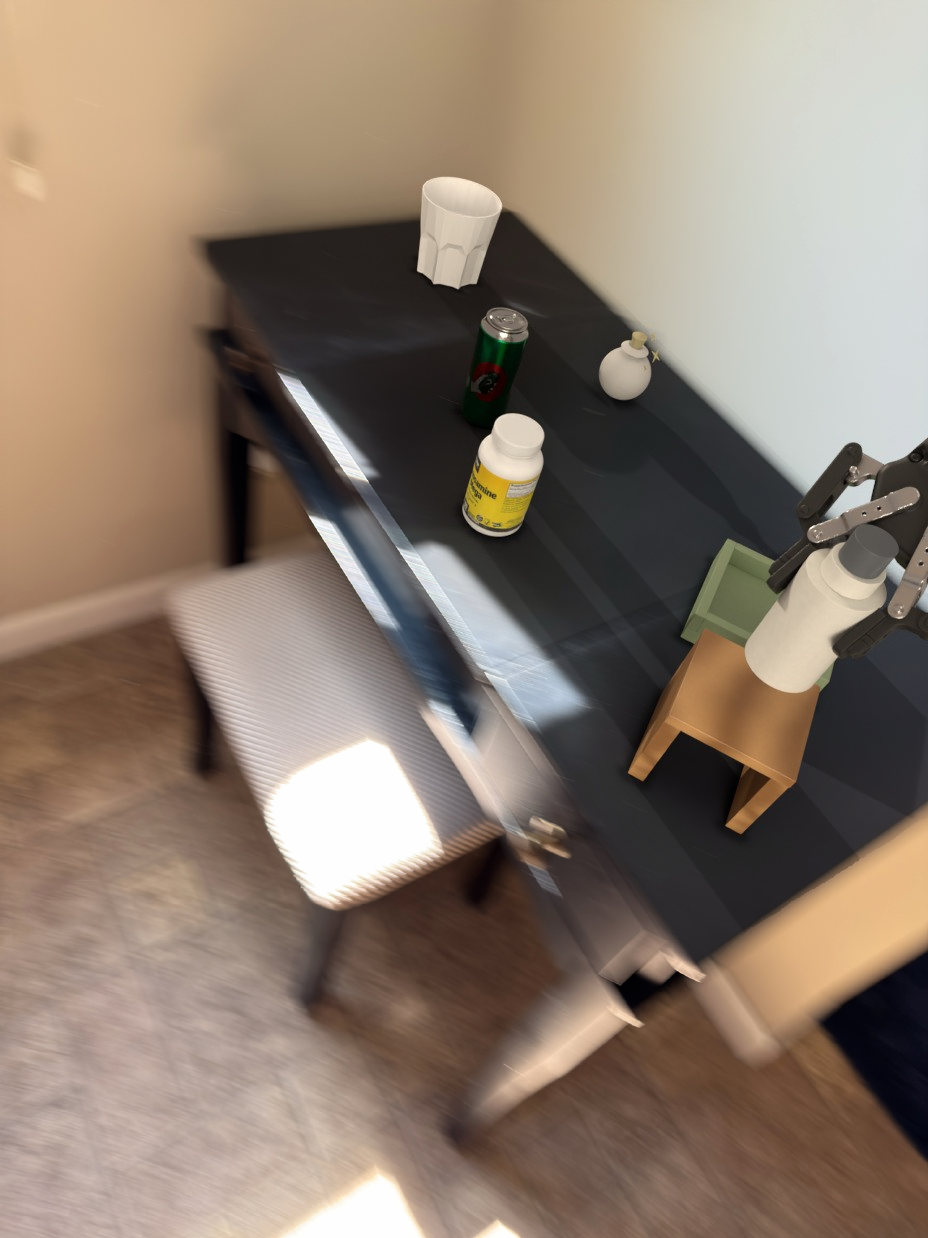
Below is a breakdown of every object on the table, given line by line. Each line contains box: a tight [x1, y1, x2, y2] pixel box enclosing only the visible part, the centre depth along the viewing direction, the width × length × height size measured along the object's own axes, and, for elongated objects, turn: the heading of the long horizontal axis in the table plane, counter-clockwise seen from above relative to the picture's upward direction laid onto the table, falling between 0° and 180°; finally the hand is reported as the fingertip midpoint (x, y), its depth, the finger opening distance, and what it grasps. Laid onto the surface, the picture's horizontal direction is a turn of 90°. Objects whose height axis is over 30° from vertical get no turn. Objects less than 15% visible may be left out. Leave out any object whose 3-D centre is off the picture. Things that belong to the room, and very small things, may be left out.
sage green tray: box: [680, 538, 835, 692], centre depth 83 cm, size 13×12×4 cm
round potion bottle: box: [598, 331, 661, 401], centre depth 100 cm, size 6×7×10 cm
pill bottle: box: [462, 412, 545, 537], centre depth 82 cm, size 6×6×11 cm
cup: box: [416, 176, 503, 290], centre depth 111 cm, size 10×10×10 cm
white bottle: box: [745, 525, 899, 693], centre depth 57 cm, size 5×5×12 cm
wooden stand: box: [627, 628, 821, 835], centre depth 69 cm, size 10×10×9 cm
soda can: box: [459, 307, 530, 428], centre depth 92 cm, size 5×5×12 cm
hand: (804, 620), depth 57 cm, fingers closed on white bottle, 5 cm apart
